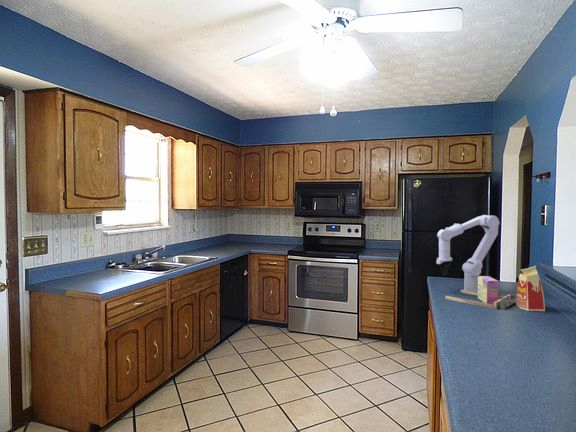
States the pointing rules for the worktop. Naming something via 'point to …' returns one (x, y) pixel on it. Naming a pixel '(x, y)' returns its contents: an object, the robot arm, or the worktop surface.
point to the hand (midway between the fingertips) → (444, 275)
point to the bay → (501, 303)
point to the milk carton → (530, 291)
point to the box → (488, 289)
